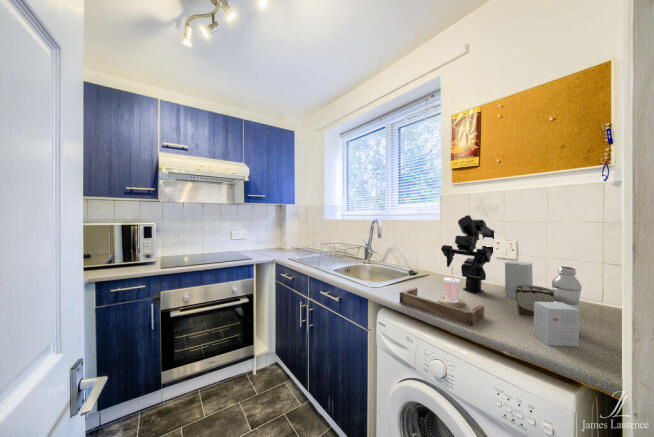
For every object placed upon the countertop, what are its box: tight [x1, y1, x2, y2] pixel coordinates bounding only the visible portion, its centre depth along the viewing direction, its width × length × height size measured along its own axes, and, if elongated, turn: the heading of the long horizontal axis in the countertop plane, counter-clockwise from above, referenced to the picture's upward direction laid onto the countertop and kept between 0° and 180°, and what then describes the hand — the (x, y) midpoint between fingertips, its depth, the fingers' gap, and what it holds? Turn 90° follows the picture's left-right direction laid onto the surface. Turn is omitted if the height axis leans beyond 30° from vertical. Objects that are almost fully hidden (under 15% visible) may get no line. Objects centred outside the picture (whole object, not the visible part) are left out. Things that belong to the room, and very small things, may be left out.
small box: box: [533, 302, 580, 348], centre depth 69 cm, size 8×6×10 cm
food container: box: [513, 284, 554, 318], centre depth 88 cm, size 12×6×10 cm, turn 71°
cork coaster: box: [437, 296, 466, 308], centre depth 99 cm, size 10×10×1 cm
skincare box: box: [504, 260, 534, 300], centre depth 104 cm, size 8×7×16 cm
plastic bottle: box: [551, 266, 583, 333], centre depth 74 cm, size 6×7×20 cm
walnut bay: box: [399, 286, 485, 327], centre depth 92 cm, size 11×27×4 cm, turn 39°
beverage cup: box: [443, 266, 461, 303], centre depth 99 cm, size 6×6×14 cm
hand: (458, 268), depth 103 cm, fingers open, 9 cm apart
